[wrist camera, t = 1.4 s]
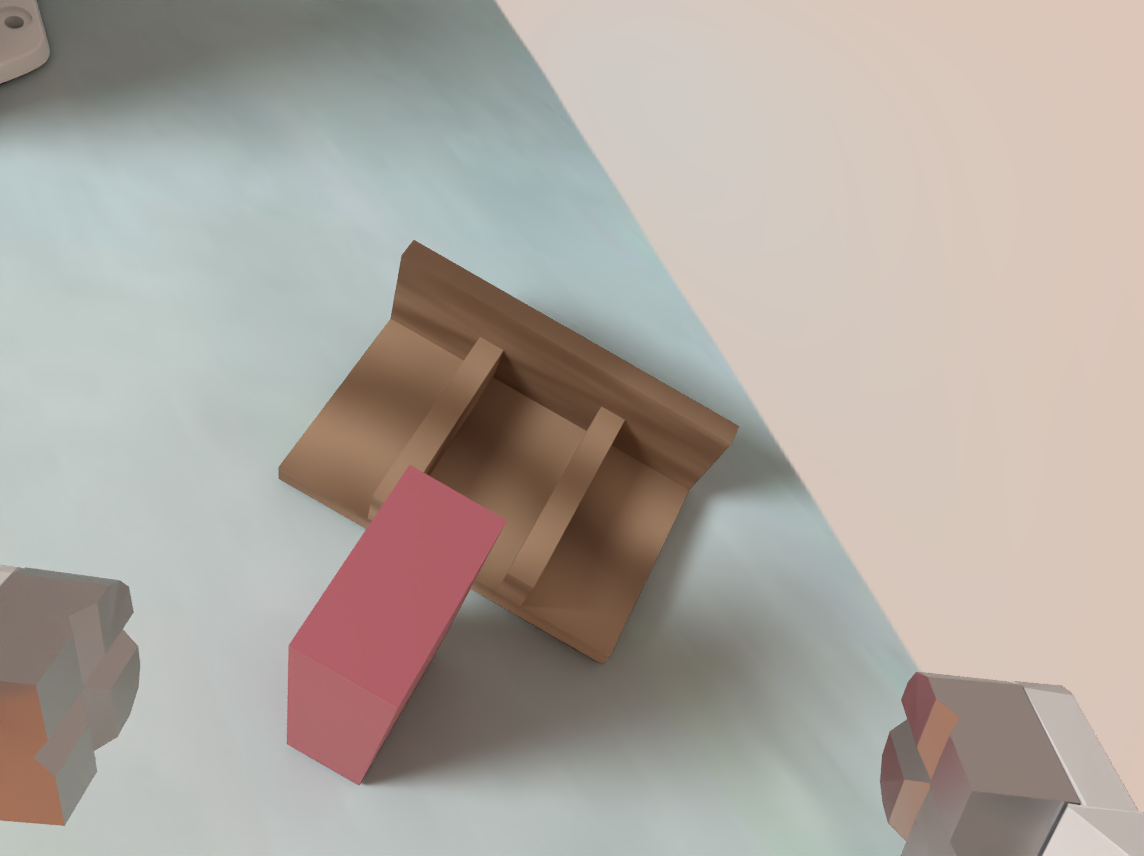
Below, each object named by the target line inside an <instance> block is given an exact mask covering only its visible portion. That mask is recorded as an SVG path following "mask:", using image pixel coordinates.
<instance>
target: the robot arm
mask: <svg viewBox="0 0 1144 856" xmlns="http://www.w3.org/2000/svg"><path fill="white" fill-rule="evenodd" d="M15 27H19V28H17V29H13V28H15ZM49 55H50V48H49V44H48V40H47V36H46V33H45V29H44V25H43V21H42V18H41V14H40V10H39V7H38V3H37V0H0V84H1V83H3V82H6V81H9V80H11V79H14V78H16V77H19V76H21V75H24V74H26V73H28V72H30V71H32V70H34V69H36V68H38V67H40V66H41V65H43V64H44V63H45V62H46V61H47V59H48V58H49ZM132 614H133V606H132V601H131V595H130V590H129V586H127V585H126V584H124V583H123V582H121V581H120V580H113V579H106V578H99V577H92V576H84V575H77V574H70V573H63V572H55V571H48V570H41V569H34V568H19V567H13V566H5V565H0V820H2V821H14V822H26V823H38V824H50V825H62V826H65V824H66V822H67V821H68V819H69V817H70V816H71V814H72V812H73V811H74V809H75V807H76V806H77V804H78V802H79V801H80V799H81V797H82V796H83V794H84V792H85V791H86V789H87V787H88V786H89V784H90V782H91V781H92V779H93V777H94V776H95V774H96V772H97V768H96V762H95V755H94V751H95V750H96V749H98V748H100V747H101V746H103V745H105V744H106V743H108V742H110V741H111V740H113V739H115V738H116V737H118V735H119V733H120V731H121V730H122V728H123V726H124V724H125V723H126V721H127V719H128V717H129V715H130V713H131V710H132V706H133V703H134V700H135V697H136V693H137V690H138V687H139V674H140V659H139V650H138V646H137V644H136V643H135V642H134V641H133V640H132V639H131V638H130V637H129V636H128V635H127V634H126V632H125V631H124V630H123V628H124V626H125V625H126V623H127V622H128V620H129V619H130V617H131V616H132ZM901 701H902V704H903V707H904V710H905V713H906V716H907V720H906V721H904V722H903V723H901V724H900V725H898V726H897V727H896V728H894V729H893V730H891V731H890V733H889V736H888V739H887V742H886V745H885V748H884V752H883V755H882V765H881V778H880V784H881V793H882V802H883V806H884V810H885V813H886V817H887V821H888V824H889V825H890V826H891V827H892V828H893V829H894V830H895V831H896V832H897V833H898V834H899V835H900V836H901V837H902V838H903V839H904V840H905V841H906V844H905V846H904V849H903V851H902V854H901V856H1144V813H1143V812H1139V811H1138V809H1137V807H1136V806H1135V804H1134V802H1133V800H1132V799H1131V797H1130V795H1129V794H1128V791H1127V790H1126V788H1125V786H1124V784H1123V783H1122V781H1121V779H1120V777H1119V775H1118V774H1117V772H1116V770H1115V768H1114V767H1113V765H1112V763H1111V761H1110V759H1109V758H1108V756H1107V754H1106V752H1105V751H1104V749H1103V747H1102V745H1101V743H1100V742H1099V740H1098V738H1097V736H1096V735H1095V733H1094V731H1093V729H1092V728H1091V726H1090V724H1089V722H1088V720H1087V719H1086V717H1085V715H1084V713H1083V712H1082V710H1081V708H1080V706H1079V704H1078V703H1077V701H1076V699H1075V697H1074V696H1073V694H1072V693H1071V692H1070V691H1068V690H1067V689H1066V688H1064V687H1063V686H1060V685H1049V684H1038V683H1027V682H1017V681H1013V682H1011V683H1010V682H1007V681H997V680H988V679H979V678H970V677H960V676H950V675H941V674H933V673H923V672H916V673H915V674H914V675H913V677H912V678H911V679H910V680H909V681H908V683H907V686H906V689H905V691H904V694H903V697H902V699H901Z"/></svg>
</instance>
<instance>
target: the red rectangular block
mask: <svg viewBox="0 0 1144 856" xmlns="http://www.w3.org/2000/svg"><path fill="white" fill-rule="evenodd" d="M506 522H507V520H505V519H504V518H502V517H500V516H498V515H497V514H495V513H493V512H491V511H490V510H488V509H486V508H484V507H483V506H481V505H479V504H478V503H476V502H474V501H472V500H471V499H469V498H467V497H465V496H464V495H462V494H460V493H458V492H457V491H455V490H453V489H451V488H450V487H448V486H446V485H444V484H443V483H441V482H439V481H437V480H436V479H434V478H432V477H430V476H429V475H427V474H425V473H423V472H422V471H420V470H418V469H417V468H415V467H413V466H411V465H409V466H408V468H407V469H406V471H405V472H404V474H403V475H402V477H401V478H400V480H399V481H398V483H397V484H396V486H395V487H394V489H393V490H392V492H391V493H390V495H389V496H388V498H387V499H386V501H385V502H384V504H383V505H382V507H381V508H380V510H379V511H378V513H377V514H376V516H375V517H374V519H373V520H372V522H371V523H370V525H369V526H368V528H367V529H366V531H365V532H364V534H363V535H362V537H361V538H360V540H359V541H358V543H357V544H356V546H355V547H354V549H353V550H352V552H351V553H350V555H349V556H348V557H347V559H346V560H345V562H344V563H343V565H342V566H341V568H340V569H339V571H338V572H337V574H336V575H335V577H334V578H333V580H332V581H331V583H330V584H329V586H328V587H327V589H326V590H325V592H324V593H323V595H322V596H321V598H320V599H319V601H318V602H317V604H316V605H315V607H314V608H313V610H312V611H311V613H310V614H309V616H308V617H307V619H306V620H305V622H304V623H303V625H302V626H301V628H300V629H299V631H298V632H297V634H296V635H295V637H294V638H293V640H292V641H291V643H290V644H289V660H288V711H287V744H288V745H290V746H291V747H293V748H295V749H297V750H298V751H300V752H302V753H304V754H305V755H307V756H309V757H310V758H312V759H314V760H316V761H317V762H319V763H321V764H323V765H324V766H326V767H328V768H330V769H331V770H333V771H335V772H337V773H338V774H340V775H342V776H344V777H345V778H347V779H349V780H350V781H352V782H354V783H356V784H357V785H360V783H361V781H362V780H363V778H364V776H365V774H366V773H367V771H368V769H369V768H370V766H371V764H372V762H373V761H374V759H375V757H376V755H377V754H378V752H379V750H380V749H381V747H382V745H383V743H384V742H385V740H386V738H387V736H388V735H389V733H390V731H391V730H392V728H393V726H394V724H395V723H396V721H397V719H398V717H399V716H400V714H401V712H402V711H403V709H404V707H405V705H406V704H407V702H408V700H409V698H410V697H411V695H412V693H413V692H414V690H415V688H416V686H417V685H418V683H419V681H420V679H421V678H422V676H423V674H424V673H425V671H426V669H427V667H428V666H429V664H430V662H431V660H432V659H433V657H434V655H435V654H436V652H437V650H438V648H439V646H440V644H441V643H442V641H443V639H444V637H445V635H446V633H447V631H448V630H449V628H450V626H451V624H452V622H453V620H454V618H455V617H456V615H457V613H458V611H459V609H460V607H461V605H462V604H463V602H464V600H465V598H466V596H467V594H468V592H469V591H470V589H471V587H472V585H473V583H474V581H475V579H476V577H477V576H478V574H479V572H480V570H481V568H482V566H483V564H484V563H485V561H486V559H487V557H488V555H489V553H490V551H491V550H492V548H493V546H494V544H495V542H496V540H497V538H498V537H499V535H500V533H501V531H502V529H503V527H504V525H505V523H506Z"/></svg>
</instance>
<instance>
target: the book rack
mask: <svg viewBox="0 0 1144 856" xmlns="http://www.w3.org/2000/svg"><path fill="white" fill-rule="evenodd" d="M738 428H739V426H738V425H736V424H734V423H732V422H731V421H729V420H727V419H725V418H724V417H722V416H720V415H718V414H717V413H715V412H713V411H711V410H710V409H708V408H706V407H704V406H703V405H701V404H699V403H697V402H696V401H694V400H692V399H691V398H689V397H687V396H685V395H684V394H682V393H680V392H678V391H677V390H675V389H673V388H671V387H670V386H668V385H666V384H664V383H663V382H661V381H659V380H657V379H656V378H654V377H652V376H650V375H649V374H647V373H645V372H643V371H642V370H640V369H638V368H636V367H635V366H633V365H631V364H629V363H628V362H626V361H624V360H622V359H621V358H619V357H617V356H616V355H614V354H612V353H610V352H609V351H607V350H605V349H603V348H602V347H600V346H598V345H596V344H595V343H593V342H591V341H589V340H588V339H586V338H584V337H582V336H581V335H579V334H577V333H575V332H574V331H572V330H570V329H568V328H567V327H565V326H563V325H561V324H560V323H558V322H556V321H554V320H553V319H551V318H549V317H547V316H546V315H544V314H542V313H541V312H539V311H537V310H535V309H534V308H532V307H530V306H528V305H527V304H525V303H523V302H521V301H520V300H518V299H516V298H514V297H513V296H511V295H509V294H507V293H506V292H504V291H502V290H500V289H499V288H497V287H495V286H493V285H492V284H490V283H488V282H486V281H485V280H483V279H481V278H479V277H478V276H476V275H474V274H472V273H471V272H469V271H467V270H466V269H464V268H462V267H460V266H459V265H457V264H455V263H453V262H452V261H450V260H448V259H446V258H445V257H443V256H441V255H439V254H438V253H436V252H434V251H432V250H431V249H429V248H427V247H425V246H424V245H422V244H420V243H418V242H417V241H415V240H413V242H412V243H411V244H410V245H409V247H408V248H407V249H406V251H405V252H404V253H403V254H402V257H401V262H400V268H399V274H398V280H397V285H396V291H395V297H394V303H393V308H392V314H391V319H390V320H389V322H388V323H387V324H386V326H385V327H384V328H383V330H382V331H381V332H380V334H379V335H378V336H377V337H376V339H375V340H374V341H373V343H372V344H371V345H370V347H369V348H368V349H367V351H366V352H365V353H364V355H363V356H362V357H361V359H360V360H359V361H358V363H357V364H356V365H355V367H354V368H353V369H352V371H351V372H350V373H349V375H348V376H347V377H346V379H345V380H344V381H343V383H342V384H341V385H340V387H339V388H338V389H337V391H336V392H335V393H334V395H333V396H332V397H331V398H330V400H329V401H328V402H327V404H326V405H325V406H324V408H323V409H322V410H321V412H320V413H319V414H318V416H317V417H316V418H315V420H314V421H313V422H312V424H311V425H310V426H309V428H308V429H307V430H306V432H305V433H304V434H303V436H302V437H301V438H300V440H299V441H298V442H297V444H296V445H295V446H294V448H293V449H292V450H291V452H290V453H289V454H288V456H287V457H286V458H285V459H284V461H283V462H282V463H281V465H280V466H279V479H280V480H282V481H284V482H285V483H287V484H289V485H291V486H292V487H294V488H296V489H298V490H299V491H301V492H303V493H305V494H306V495H308V496H310V497H312V498H313V499H315V500H317V501H319V502H320V503H322V504H324V505H326V506H327V507H329V508H331V509H333V510H334V511H336V512H338V513H339V514H341V515H343V516H345V517H346V518H348V519H350V520H352V521H353V522H355V523H357V524H359V525H360V526H362V527H364V528H366V529H367V528H368V526H369V525H370V523H371V522H372V520H373V519H374V517H375V516H376V514H377V513H378V511H379V510H380V508H381V507H382V505H383V504H384V502H385V501H386V499H387V498H388V496H389V495H390V493H391V492H392V490H393V489H394V487H395V486H396V484H397V483H398V481H399V480H400V478H401V477H402V475H403V474H404V472H405V471H406V469H407V468H408V466H409V465H411V466H413V467H415V468H417V469H418V470H420V471H422V472H423V473H425V474H427V475H429V476H430V477H432V478H434V479H436V480H437V481H439V482H441V483H443V484H444V485H446V486H448V487H450V488H451V489H453V490H455V491H457V492H458V493H460V494H462V495H464V496H465V497H467V498H469V499H471V500H472V501H474V502H476V503H478V504H479V505H481V506H483V507H484V508H486V509H488V510H490V511H491V512H493V513H495V514H497V515H498V516H500V517H502V518H504V519H505V520H507V522H506V523H505V525H504V527H503V529H502V531H501V533H500V535H499V537H498V538H497V540H496V542H495V544H494V546H493V548H492V550H491V551H490V553H489V555H488V557H487V559H486V561H485V563H484V564H483V566H482V568H481V570H480V572H479V574H478V576H477V577H476V579H475V581H474V583H473V585H472V587H471V589H472V590H474V591H475V592H477V593H479V594H481V595H482V596H484V597H486V598H488V599H489V600H491V601H493V602H494V603H496V604H498V605H500V606H501V607H503V608H505V609H507V610H508V611H510V612H512V613H514V614H515V615H517V616H519V617H521V618H522V619H524V620H526V621H528V622H529V623H531V624H533V625H535V626H536V627H538V628H540V629H541V630H543V631H545V632H547V633H548V634H550V635H552V636H554V637H555V638H557V639H559V640H561V641H562V642H564V643H566V644H568V645H569V646H571V647H573V648H575V649H576V650H578V651H580V652H582V653H583V654H585V655H587V656H589V657H590V658H592V659H594V660H595V661H597V662H599V663H601V664H602V663H604V662H605V661H606V660H607V659H608V658H609V657H610V656H611V653H612V651H613V649H614V647H615V645H616V643H617V641H618V639H619V637H620V635H621V632H622V630H623V628H624V626H625V624H626V622H627V620H628V618H629V616H630V614H631V611H632V609H633V607H634V605H635V603H636V601H637V599H638V597H639V595H640V593H641V590H642V588H643V586H644V584H645V582H646V580H647V578H648V576H649V574H650V572H651V569H652V567H653V565H654V563H655V561H656V559H657V557H658V555H659V553H660V551H661V548H662V546H663V544H664V542H665V540H666V538H667V536H668V534H669V532H670V529H671V527H672V525H673V523H674V521H675V519H676V517H677V515H678V513H679V511H680V508H681V506H682V504H683V502H684V500H685V498H686V496H687V494H688V492H689V490H690V489H691V488H692V486H693V485H694V484H695V483H696V482H697V481H698V480H699V479H700V478H701V477H702V475H703V474H704V473H705V472H706V471H707V470H708V469H709V468H710V467H711V466H712V464H713V463H714V462H715V461H716V460H717V459H718V458H719V457H720V456H721V455H722V453H723V452H724V451H725V450H726V449H727V448H728V447H729V446H730V445H731V443H732V441H733V439H734V437H735V434H736V432H737V430H738Z"/></svg>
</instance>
